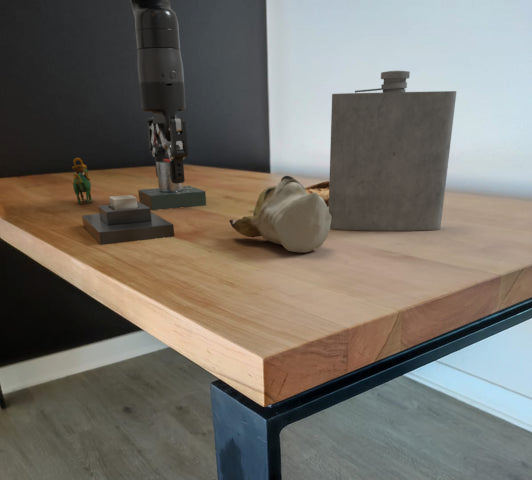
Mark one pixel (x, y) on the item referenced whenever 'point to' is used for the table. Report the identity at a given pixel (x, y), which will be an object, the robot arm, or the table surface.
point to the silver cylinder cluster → (166, 177)
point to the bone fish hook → (320, 190)
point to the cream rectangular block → (123, 202)
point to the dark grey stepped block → (126, 225)
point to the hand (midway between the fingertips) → (170, 180)
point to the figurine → (81, 181)
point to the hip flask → (389, 157)
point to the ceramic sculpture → (288, 217)
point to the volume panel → (172, 198)
